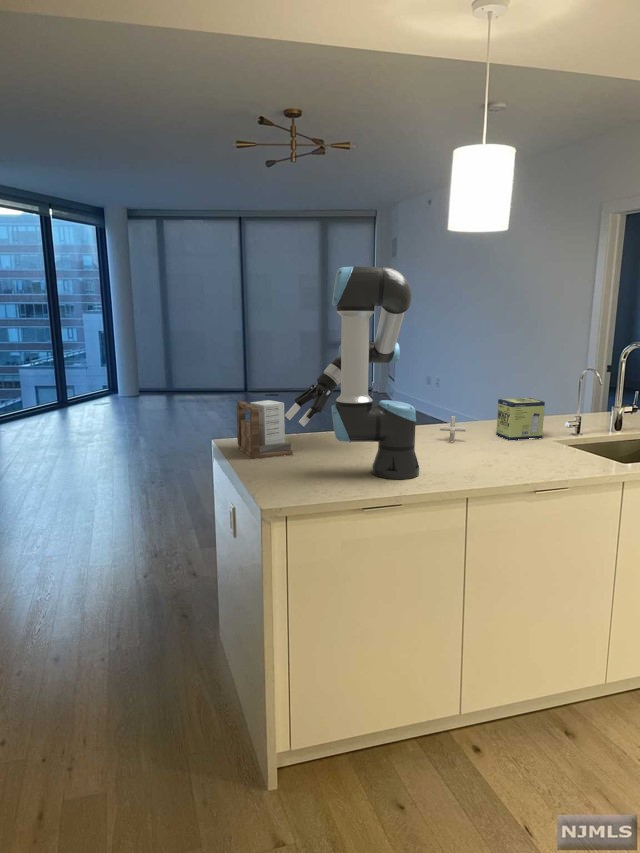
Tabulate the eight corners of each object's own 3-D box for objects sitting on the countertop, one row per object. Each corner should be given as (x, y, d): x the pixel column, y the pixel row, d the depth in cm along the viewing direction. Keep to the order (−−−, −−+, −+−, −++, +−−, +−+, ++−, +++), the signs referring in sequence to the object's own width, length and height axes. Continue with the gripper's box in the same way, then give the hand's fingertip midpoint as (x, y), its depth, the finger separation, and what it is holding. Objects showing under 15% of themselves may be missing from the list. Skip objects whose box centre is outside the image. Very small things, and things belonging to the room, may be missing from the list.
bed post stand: (293, 455, 217) (292, 406, 213) (252, 459, 210) (252, 408, 207) (275, 444, 233) (275, 398, 229) (237, 448, 226) (236, 401, 223)
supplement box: (285, 447, 221) (285, 402, 218) (265, 451, 215) (264, 405, 212) (270, 443, 228) (269, 399, 225) (250, 446, 222) (249, 401, 219)
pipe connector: (465, 444, 234) (466, 419, 232) (439, 443, 236) (440, 418, 234) (464, 439, 244) (465, 414, 241) (439, 437, 245) (440, 413, 243)
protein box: (495, 435, 251) (497, 398, 247) (527, 433, 255) (530, 397, 251) (509, 441, 241) (511, 402, 238) (542, 439, 245) (545, 401, 242)
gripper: (351, 389, 218) (314, 433, 215) (322, 381, 240) (288, 421, 237) (339, 375, 215) (300, 420, 211) (310, 369, 237) (275, 409, 234)
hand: (293, 421), depth 224 cm, fingers open, 13 cm apart
